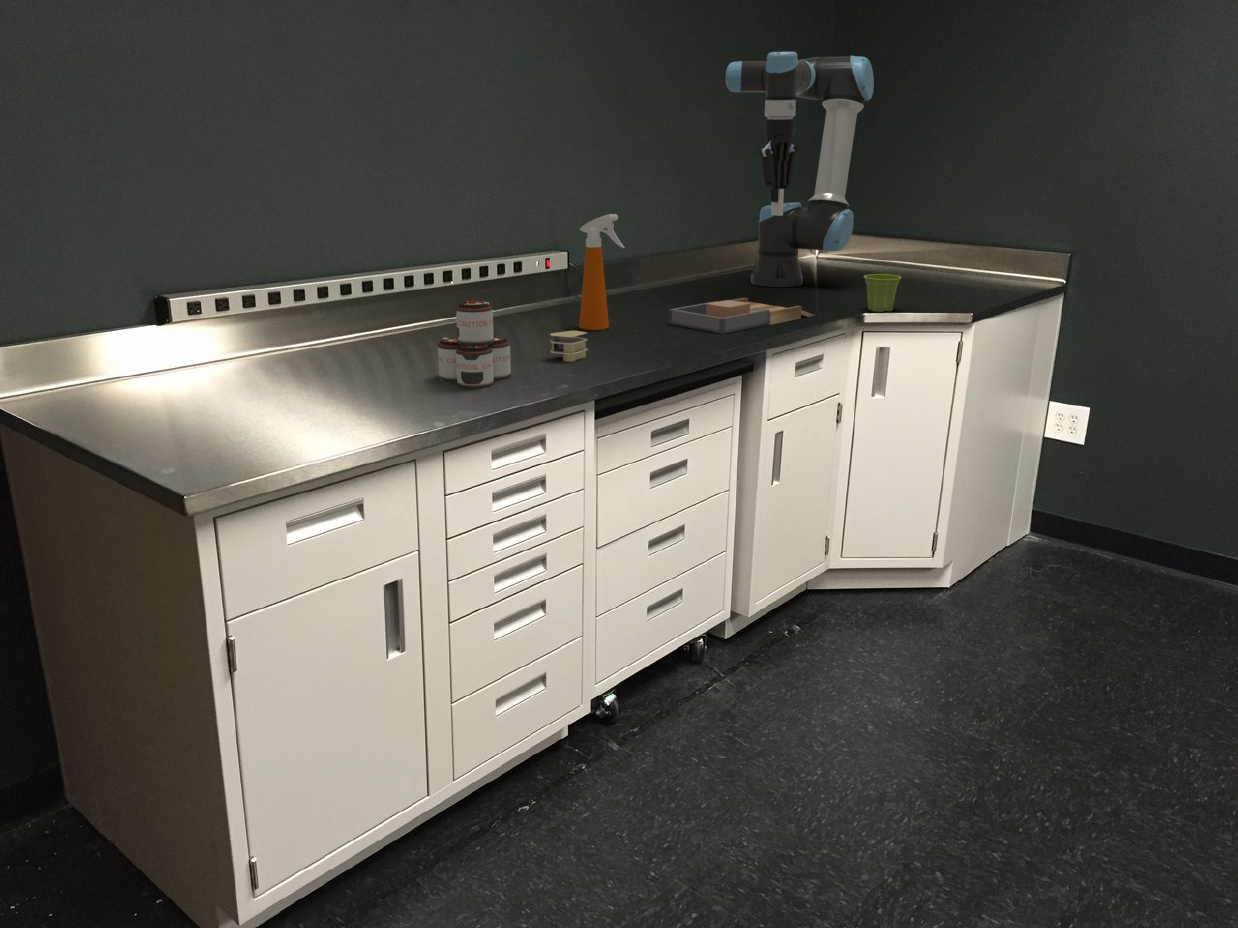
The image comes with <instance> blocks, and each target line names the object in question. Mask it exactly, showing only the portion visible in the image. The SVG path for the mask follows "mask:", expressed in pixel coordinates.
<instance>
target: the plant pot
mask: <svg viewBox="0 0 1238 928" xmlns="http://www.w3.org/2000/svg"><path fill="white" fill-rule="evenodd" d="M863 278H864V280H865V281H864V282H865V285H866V296H867V297H866V299H867V310H868V311H871V312H879V313H883V312H891V311H893V309H894V304H895V298H896V294H897V289H898V286H899V284H900V280H901V279H902V276H900V275H896V274H887V273H877V274H876V273H873V274H865V275H864V276H863Z"/></svg>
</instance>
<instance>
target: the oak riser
mask: <svg viewBox="0 0 1238 928" xmlns="http://www.w3.org/2000/svg"><path fill="white" fill-rule="evenodd" d="M731 300H732V301H738V302H745V303H750V312H756V311H761V310H766V309H767V310H770V311H769V325H776V324H781V323H785V322H790V321H795V320H799V319H800V320H801V319H802V317H807V318H811V317H814V316H817V315H816V314H813V313H810V312H809V311H806V310H802V309H803V307H802V306H801V305H796V306H790V307H785V306H779V305H772V304H765V303H760V302H753V301H749V297H742V298H741V297H740V298H734V299H731ZM769 325H768V326H769Z"/></svg>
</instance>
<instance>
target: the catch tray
mask: <svg viewBox="0 0 1238 928" xmlns="http://www.w3.org/2000/svg"><path fill="white" fill-rule="evenodd" d="M713 302H718V301H710V302H704V303H698V304H693V305H687V306H682V307H676V308H670V309H668V324H669V325H672V326H676V327H678V326H679V327H683V328H688V329H693V330H697V331H698V330H699V331H704V332H710V333H714V334H720V335H724V334H725V335H726V334H730V333H733V332H734V333H735V332H739V331H743V330H748V329H754V328H758V327H759V328H760V327H762V326H769V311H770V310H767V309H766V310H761V311H756V312H750V313H745V314H740V315H735V316H730V317H724V318H720V317H714V316H709V315H706V304H708V303H713Z"/></svg>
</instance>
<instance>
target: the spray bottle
mask: <svg viewBox="0 0 1238 928" xmlns="http://www.w3.org/2000/svg"><path fill="white" fill-rule="evenodd" d="M618 219H619V216H618V214H615V213H613V214H612V213H609V214H605V215H603V216H600V217H597V218H595V219H592V220H590V221H588V222H586V223H585V224H583V225H581V226H580V227H579V231H581V232H583V233H586V235H587V236H586V237H587V238H585V253H584V264H583V275H582V276H583V278H582V288H581V289H582V290H581V301H580V312H579V313H580V314H579V323H578V324H579V325H578V326H579V329H581V330H583V331H584V330H586V331H604V330H606V329H608V328H610V325H609V324H610V323H609V322H610V321H609V315H608V313H609V312H608V303H607V301H608V300H607V292H606V282H605V273H604V272H605V269H604V261H603V251H602V250H603V249H602V238H601V232H602V233H605V234H606V235H607V236H609V238H610V239H611V240H612V241H613V242H614V243H615V244H616V245H618V246H619V247H620V248H622V249H625V246H624V245H623V243H622V242H621V241H620V239H619V237H618V236H617V234H616V232H615V229H614V227H615V224H614V222H615V221H618Z"/></svg>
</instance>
